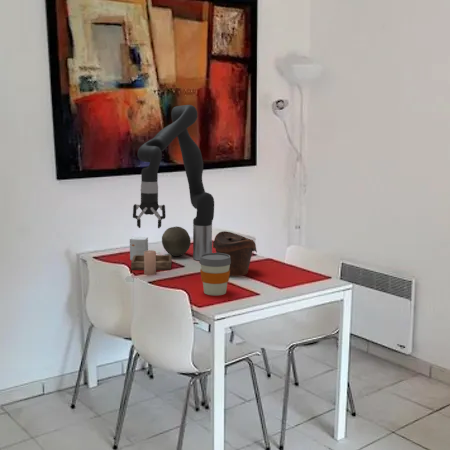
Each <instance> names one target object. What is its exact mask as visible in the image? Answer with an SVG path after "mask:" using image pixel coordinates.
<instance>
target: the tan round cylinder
mask: <svg viewBox="0 0 450 450" xmlns="http://www.w3.org/2000/svg"><path fill="white" fill-rule="evenodd" d="M156 254H157V252H156V251H155V250H152V249H151V250H149V249H148V251H144V270H143V271H144V272H143V274H144V275H147V276H154V275H156V274H157V270H156Z"/></svg>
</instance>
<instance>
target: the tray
mask: <svg viewBox="0 0 450 450" xmlns="http://www.w3.org/2000/svg"><path fill="white" fill-rule="evenodd" d="M172 256H173V255H170V254H168V255H166V254H165V255H164V254H163V255H162V254H160V255H158V254H157V255H156V271H171V269H172V262H173V261H172V258H173V257H172ZM130 261H131V262H130V270H131V271H144V255H134V256H133V259H132V260H130Z"/></svg>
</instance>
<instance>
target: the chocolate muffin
mask: <svg viewBox="0 0 450 450" xmlns="http://www.w3.org/2000/svg"><path fill="white" fill-rule="evenodd" d="M213 248H214V249H215V253H224V254H228V255H230V259H231V264H230V268H229V269H230V275H229V277H239V276H240V277H241V276H245V275H247V274H248V273H249V267H250V264H251V259H252V255H253V252H255V253H257V252H258V251H257V245H256V242H255V241H254V239H252V238H248V237H245V236H243V235H240V234H237V233H234V232H231V231H226V230H225V231H220V232H218V233H217V234H216V235H215V237H214V239H213V241H212V249H213Z"/></svg>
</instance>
